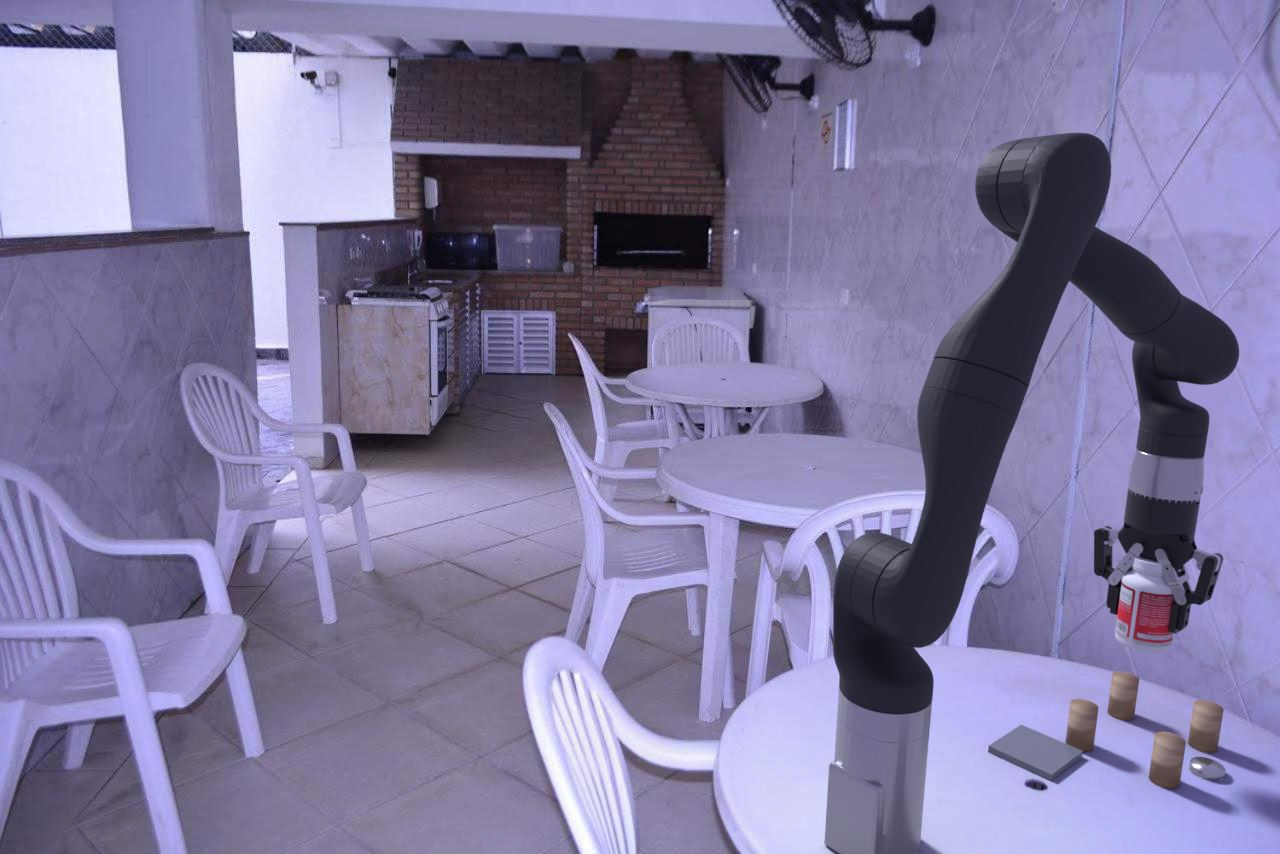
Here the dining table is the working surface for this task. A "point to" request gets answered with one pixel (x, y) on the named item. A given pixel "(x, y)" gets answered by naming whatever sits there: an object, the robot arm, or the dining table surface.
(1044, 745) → the slate coaster
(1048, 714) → the dining table surface
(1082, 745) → the cylinder
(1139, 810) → the dining table surface
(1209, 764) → the shiny metal disc
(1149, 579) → the pill bottle
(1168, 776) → the cylinder
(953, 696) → the dining table surface
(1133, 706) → the cylinder
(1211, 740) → the cylinder
